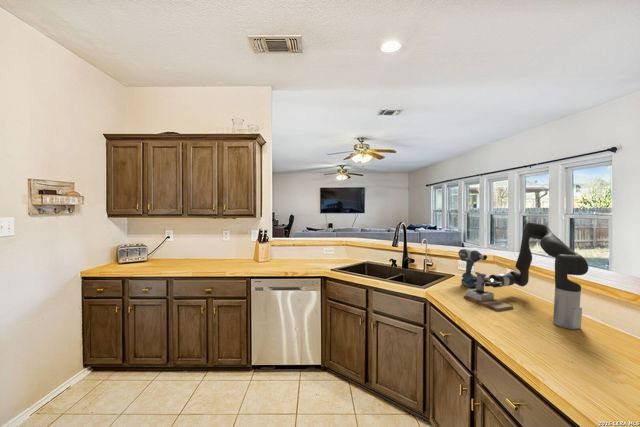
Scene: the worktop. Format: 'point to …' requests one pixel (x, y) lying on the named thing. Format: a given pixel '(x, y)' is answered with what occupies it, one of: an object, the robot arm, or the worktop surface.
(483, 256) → the impact wrench
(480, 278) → the chuck key
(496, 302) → the stand
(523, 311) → the worktop surface
